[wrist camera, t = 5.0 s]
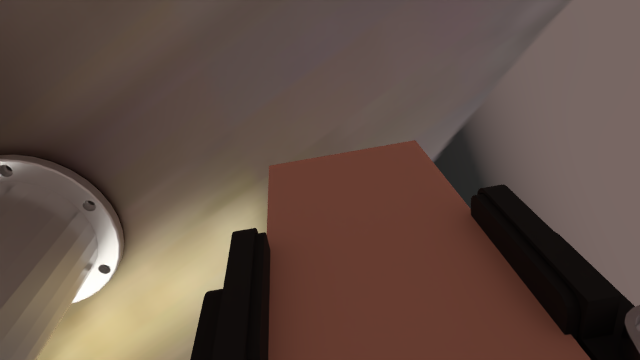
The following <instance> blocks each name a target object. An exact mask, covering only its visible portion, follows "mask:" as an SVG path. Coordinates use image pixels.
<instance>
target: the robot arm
mask: <svg viewBox="0 0 640 360" xmlns="http://www.w3.org/2000/svg"><path fill="white" fill-rule="evenodd" d="M471 216H472V217H473V218H474V220H475V221H476V222H477V224H478V225H479V226H480V227H481V229H482V230H483V231H484V233H485V234H486V235H487V236H488V238H489V239H490V240H491V241H492V243H493V244H494V245H495V247H496V248H497V249H498V250H499V252H500V253H501V254H502V256H503V257H504V258H505V259H506V261H507V262H508V263H509V264H510V266H511V267H512V268H513V270H514V271H515V272H516V273H517V275H518V276H519V277H520V279H521V280H522V281H523V282H524V284H525V285H526V286H527V288H528V289H529V290H530V291H531V293H532V294H533V295H534V296H535V298H536V299H537V300H538V302H539V303H540V304H541V305H542V307H543V308H544V309H545V311H546V312H547V313H548V314H549V316H550V317H551V318H552V319H553V321H554V322H555V323H556V325H557V326H558V327H559V328H560V330H561V331H562V332H563V334H564V335H569V334H571V335H572V336H573V338H574V339H575V340H576V341H577V343H578V344H579V345H580V346H581V348H582V349H583V350H584V351H585V353H586V354H587V355H588V356H589V358H590V359H591V360H640V305H639V306H636V307H635V306H634V305H633V304H632V303H631V302H630V301H629V300H627V299H626V298H625V297H624V296H623V295H622V294H621V293H620V292H619V291H618V290H617V289H616V288H615V287H614V286H613V285H612V284H611V283H610V282H609V281H608V280H606V279H605V278H604V277H603V276H602V275H601V274H600V273H599V272H598V271H597V270H596V269H595V268H594V267H593V266H592V265H591V264H590V263H589V262H587V261H586V260H585V259H584V258H583V257H582V256H581V255H580V254H579V253H578V252H577V251H576V250H575V249H574V248H573V247H572V246H571V245H570V244H569V243H567V242H566V241H565V240H564V239H563V238H562V237H561V236H560V235H559V234H557V233H556V232H554V231H553V230H552V229H551V228H550V227H549V226H548V225H547V224H546V223H545V222H543V221H542V220H541V219H540V218H539V217H538V216H537V215H536V214H535V213H534V212H533V211H532V210H531V209H530V208H529V207H528V206H527V205H526V204H525V203H524V202H523V201H521V200H520V199H519V198H518V197H517V196H516V195H515V194H514V193H513V192H512V191H511V190H510V189H509V188H508V187H507V186H505V185H497V186H491V187H486V188H480V189H479V191H478V194H477V195H475V196H472V198H471ZM123 249H124V237H123V230H122V227H121V224H120V221H119V218H118V216H117V214H116V212H115V211H114V209H113V207H112V205H111V204H110V203H109V202H108V200H107V199H106V198H105V197H104V196H103V194H102V193H101V192H100V191H99V190H98V189H97V188H95V187H94V186H93V185H92V184H91V183H90V182H88V181H87V180H86V179H84V178H83V177H81V176H80V175H78V174H76V173H75V172H73V171H72V170H70V169H68V168H65V167H63V166H61V165H58V164H56V163H54V162H51V161H47V160H44V159H40V158H36V157H32V156H23V155H0V360H37V358H38V356H39V355H40V353H41V352H42V350H43V348H44V347H45V345H46V343H47V342H48V340H49V339H50V337H51V335H52V334H53V332H54V331H55V329H56V327H57V326H58V324H59V322H60V321H61V319H62V318H63V316H64V314H65V313H66V311H67V309H68V308H69V306H70V305H71V303H76V302H79V301H81V300H84V299H86V298H88V297H91V296H92V295H94V294H95V293H97V292H98V291H100V290H101V289H102V288H103V287H104V286H105V285H106V284H107V283H108V282H109V281H110V280H111V278H112V277H113V275H114V273H115V272H116V270H117V268H118V266H119V264H120V261H121V259H122V256H123ZM269 300H270V247H269V243H268V238H267V235H266V233H265V232H264V233H258V231H257V229H256V228H253V229H247V230H241V231H235V232H233V233H232V238H231V244H230V251H229V257H228V263H227V269H226V275H225V281H224V287H223V289H219V290H214V291H208V292H207V293H206V294H205V296H204V300H203V304H202V309H201V314H200V318H199V323H198V327H197V332H196V337H195V341H194V346H193V350H192V355H191V359H190V360H268V350H269Z"/></svg>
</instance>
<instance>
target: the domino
mask: <svg viewBox="0 0 640 360" xmlns="http://www.w3.org/2000/svg"><path fill="white" fill-rule="evenodd" d="M267 238H268V243H269V247H270V300H269V350H268V360H591V359H590V358H589V356H588V355H587V354H586V353H585V351H584V350H583V349H582V348H581V346H580V345H579V344H578V343H577V341H576V340H575V339H574V338H573V336H572V335H571V334H569V335H564V334H563V332H562V331H561V330H560V328H559V327H558V326H557V325H556V323H555V322H554V321H553V319H552V318H551V317H550V316H549V314H548V313H547V312H546V311H545V309H544V308H543V307H542V305H541V304H540V303H539V302H538V300H537V299H536V298H535V296H534V295H533V294H532V293H531V291H530V290H529V289H528V288H527V286H526V285H525V284H524V282H523V281H522V280H521V279H520V277H519V276H518V275H517V273H516V272H515V271H514V270H513V268H512V267H511V266H510V264H509V263H508V262H507V261H506V259H505V258H504V257H503V256H502V254H501V253H500V252H499V250H498V249H497V248H496V247H495V245H494V244H493V243H492V241H491V240H490V239H489V238H488V236H487V235H486V234H485V233H484V231H483V230H482V229H481V227H480V226H479V225H478V224H477V222H476V221H475V220H474V218H473V217H472V216H471V209H470V208H469V207H468V206H467V204H466V203H465V202H464V201H463V199H462V198H461V197H460V196H459V194H458V193H457V192H456V191H455V189H454V188H453V187H452V186H451V184H450V183H449V182H448V181H447V179H446V178H445V177H444V176H443V174H442V173H441V172H440V171H439V169H438V168H437V167H436V166H435V164H434V163H433V162H432V161H431V159H430V158H429V157H428V156H427V154H426V153H425V152H424V151H423V149H422V148H421V147H420V146H419V144H418V143H417V142H416V141H415V140H414V141H408V142H403V143H397V144H391V145H386V146H380V147H374V148H368V149H363V150H357V151H351V152H345V153H340V154H334V155H328V156H323V157H317V158H311V159H305V160H300V161H294V162H288V163H282V164H277V165H271V166H269V187H268V216H267Z"/></svg>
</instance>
